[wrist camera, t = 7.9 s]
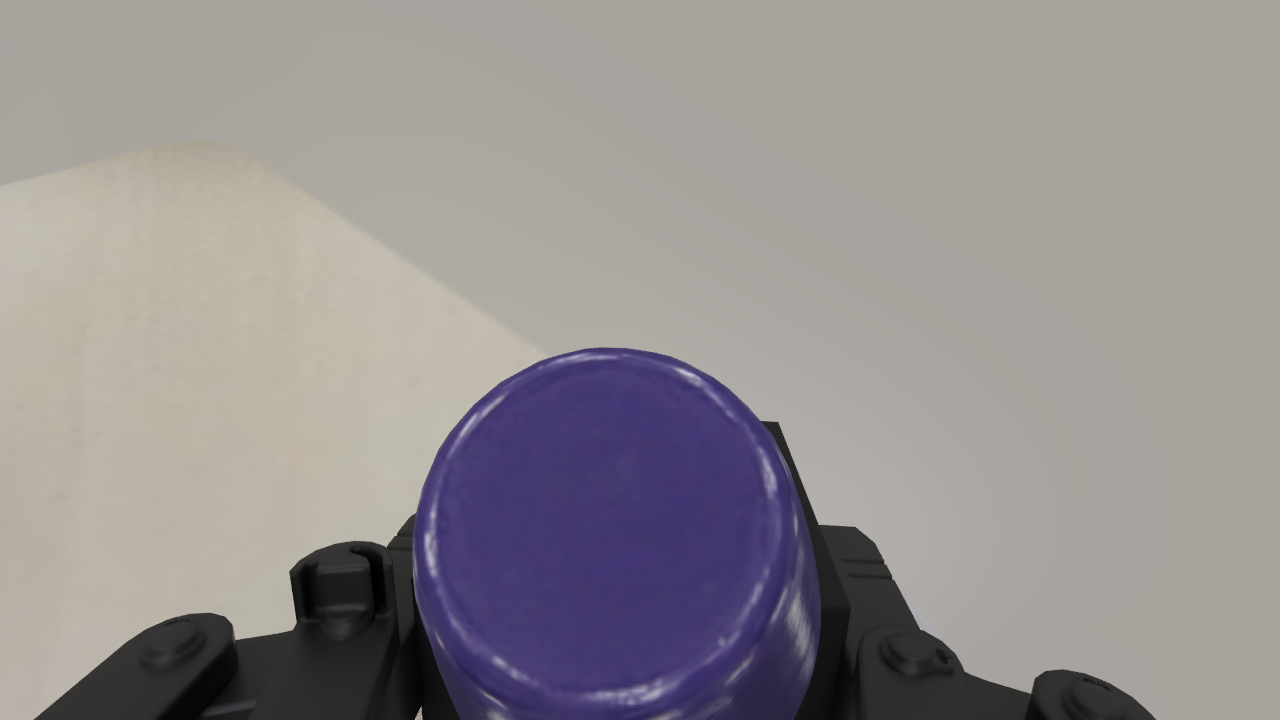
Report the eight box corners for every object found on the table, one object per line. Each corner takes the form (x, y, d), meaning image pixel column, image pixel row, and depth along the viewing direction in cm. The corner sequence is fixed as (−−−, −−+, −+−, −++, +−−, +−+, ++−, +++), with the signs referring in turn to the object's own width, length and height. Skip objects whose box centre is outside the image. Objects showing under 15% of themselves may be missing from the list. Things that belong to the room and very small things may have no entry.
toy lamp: (541, 717, 18) (138, 768, 4) (592, 560, 21) (456, 210, 6) (700, 773, 18) (945, 1094, 3) (736, 605, 20) (980, 331, 5)
